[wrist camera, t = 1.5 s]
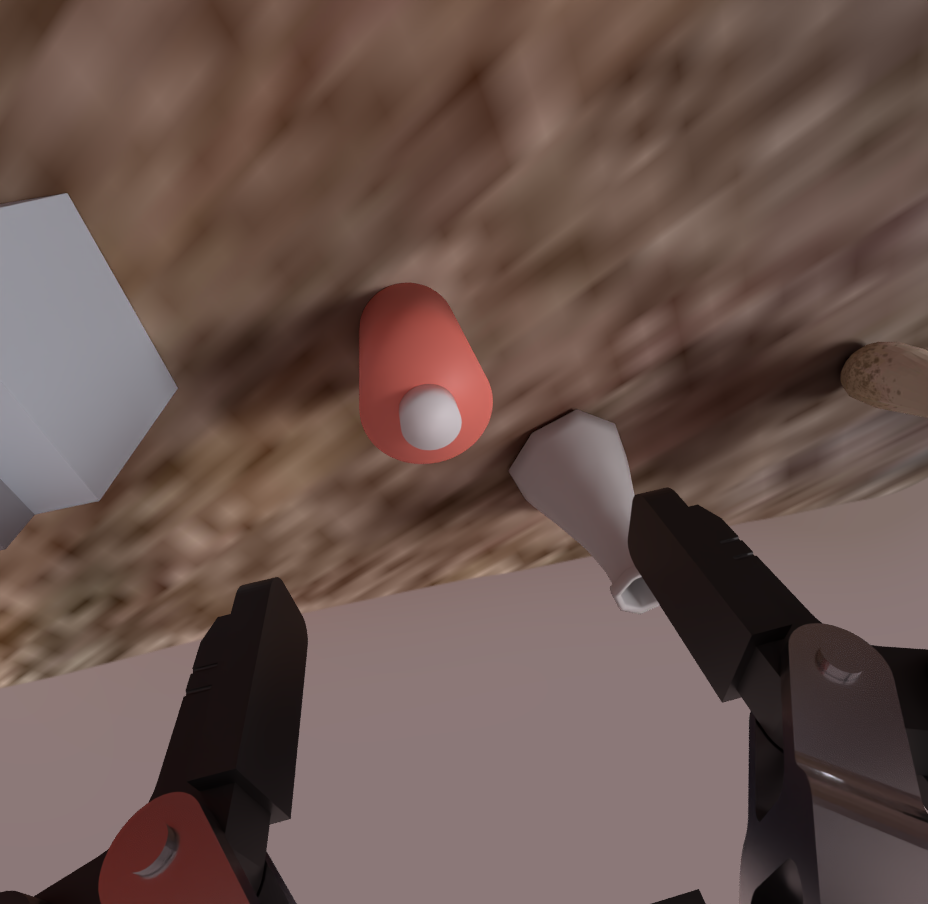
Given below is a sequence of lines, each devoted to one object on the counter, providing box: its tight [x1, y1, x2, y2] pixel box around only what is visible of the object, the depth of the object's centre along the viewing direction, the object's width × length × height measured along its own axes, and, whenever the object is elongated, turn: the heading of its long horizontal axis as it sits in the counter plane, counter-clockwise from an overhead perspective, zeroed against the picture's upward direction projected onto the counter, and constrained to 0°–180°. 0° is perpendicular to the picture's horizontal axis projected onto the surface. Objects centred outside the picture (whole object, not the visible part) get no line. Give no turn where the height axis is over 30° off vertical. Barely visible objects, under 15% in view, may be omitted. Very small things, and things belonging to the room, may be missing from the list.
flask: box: [509, 409, 659, 614], centre depth 24 cm, size 7×7×10 cm
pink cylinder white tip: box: [359, 283, 493, 464], centre depth 18 cm, size 5×5×8 cm
